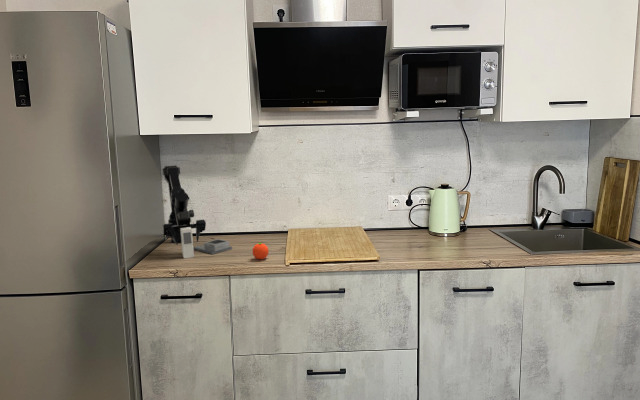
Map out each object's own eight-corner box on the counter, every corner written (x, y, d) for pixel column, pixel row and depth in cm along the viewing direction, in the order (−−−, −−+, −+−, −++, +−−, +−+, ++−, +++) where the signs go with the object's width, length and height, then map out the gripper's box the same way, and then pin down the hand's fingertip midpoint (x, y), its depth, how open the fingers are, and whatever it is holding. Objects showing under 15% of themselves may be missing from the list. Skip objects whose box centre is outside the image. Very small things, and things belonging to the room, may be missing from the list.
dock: (192, 249, 234) (191, 240, 233) (211, 244, 242) (211, 236, 241) (212, 254, 223) (211, 245, 223) (232, 249, 231) (231, 240, 231)
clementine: (251, 257, 215) (250, 241, 214) (266, 255, 217) (265, 239, 216) (254, 262, 208) (253, 245, 207) (270, 260, 210) (269, 243, 209)
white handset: (182, 256, 223) (180, 228, 221) (192, 254, 224) (190, 226, 222) (184, 258, 219) (181, 230, 217) (194, 257, 220) (191, 228, 218)
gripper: (161, 206, 218) (166, 235, 210) (203, 202, 225) (209, 230, 217) (161, 221, 226) (165, 249, 218) (201, 216, 234) (208, 243, 225)
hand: (187, 242), depth 219 cm, fingers open, 9 cm apart
